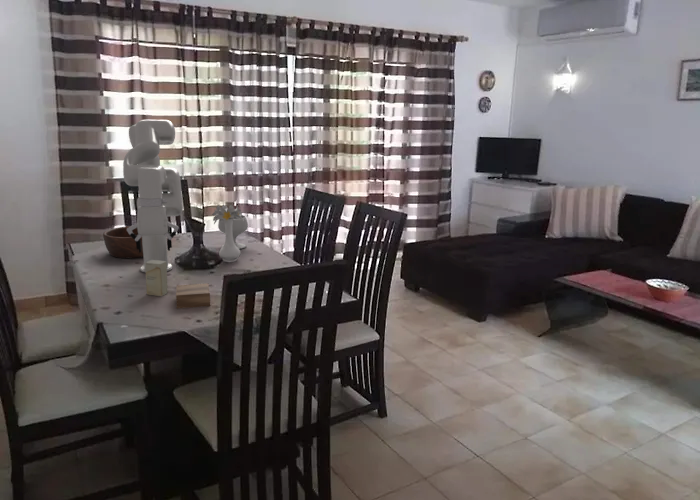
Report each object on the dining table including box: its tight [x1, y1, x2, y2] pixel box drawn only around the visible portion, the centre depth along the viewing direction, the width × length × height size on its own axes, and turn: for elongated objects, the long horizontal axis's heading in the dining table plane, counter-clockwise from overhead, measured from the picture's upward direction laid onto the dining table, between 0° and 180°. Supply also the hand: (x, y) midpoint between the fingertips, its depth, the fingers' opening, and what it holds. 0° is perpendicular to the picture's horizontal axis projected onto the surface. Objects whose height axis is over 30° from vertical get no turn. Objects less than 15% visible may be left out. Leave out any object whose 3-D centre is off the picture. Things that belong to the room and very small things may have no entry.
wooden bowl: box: [102, 225, 143, 259], centre depth 253 cm, size 25×25×10 cm
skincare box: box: [145, 260, 168, 297], centre depth 200 cm, size 6×4×12 cm
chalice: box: [217, 214, 249, 250], centre depth 267 cm, size 14×14×15 cm
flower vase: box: [211, 204, 244, 263], centre depth 243 cm, size 13×18×25 cm
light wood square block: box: [175, 283, 211, 309], centre depth 193 cm, size 11×11×5 cm
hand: (154, 250), depth 197 cm, fingers open, 9 cm apart
